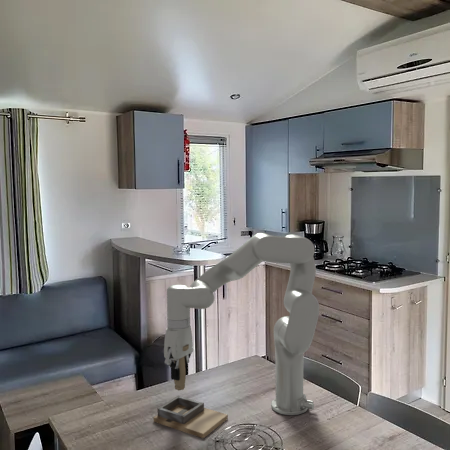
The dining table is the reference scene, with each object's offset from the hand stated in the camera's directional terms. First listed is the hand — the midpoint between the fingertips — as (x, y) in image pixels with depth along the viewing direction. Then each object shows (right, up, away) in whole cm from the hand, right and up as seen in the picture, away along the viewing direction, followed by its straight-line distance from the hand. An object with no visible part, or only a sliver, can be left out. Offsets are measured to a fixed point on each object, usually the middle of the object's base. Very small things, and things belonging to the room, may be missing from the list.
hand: (179, 376), depth 156 cm
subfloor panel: (+4, -14, -1) cm, 15 cm away
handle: (0, -4, 0) cm, 4 cm away
